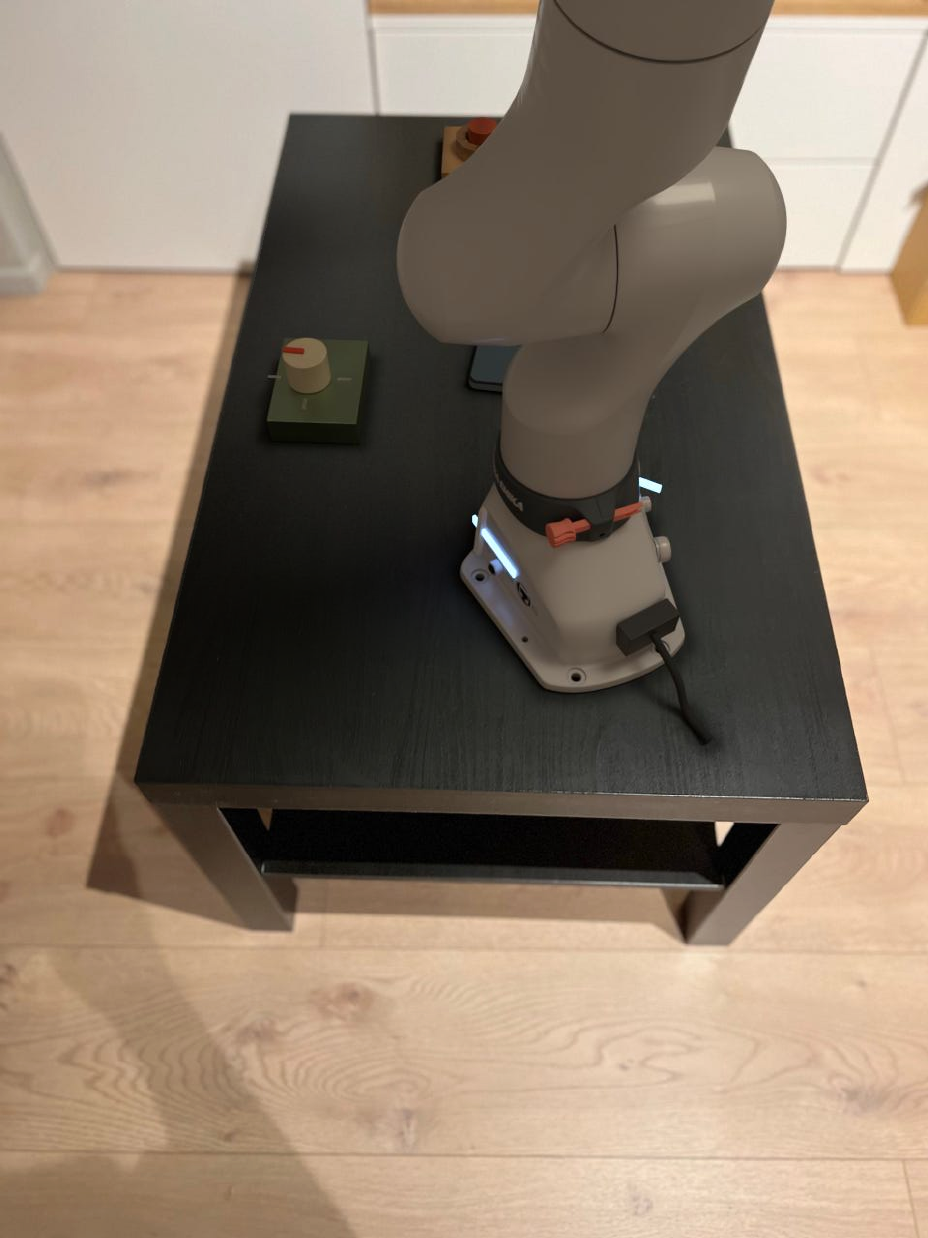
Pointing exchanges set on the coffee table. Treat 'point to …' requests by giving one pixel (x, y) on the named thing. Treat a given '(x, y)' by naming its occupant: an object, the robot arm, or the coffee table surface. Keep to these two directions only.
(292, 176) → the coffee table surface
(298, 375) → the knob
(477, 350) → the smartphone
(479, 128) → the button
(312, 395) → the panel
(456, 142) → the button block
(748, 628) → the coffee table surface
